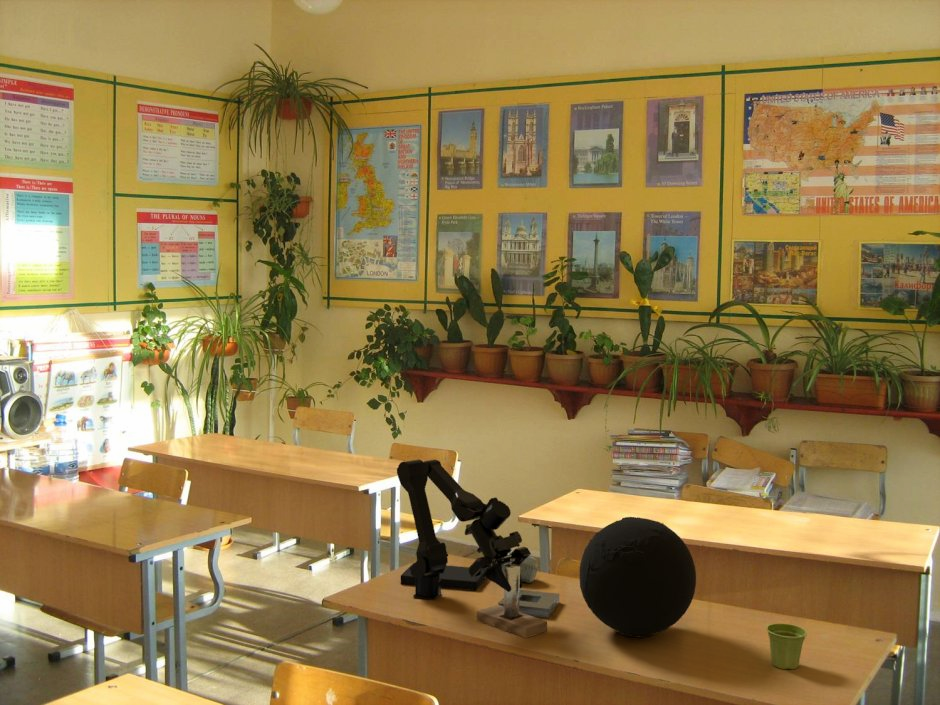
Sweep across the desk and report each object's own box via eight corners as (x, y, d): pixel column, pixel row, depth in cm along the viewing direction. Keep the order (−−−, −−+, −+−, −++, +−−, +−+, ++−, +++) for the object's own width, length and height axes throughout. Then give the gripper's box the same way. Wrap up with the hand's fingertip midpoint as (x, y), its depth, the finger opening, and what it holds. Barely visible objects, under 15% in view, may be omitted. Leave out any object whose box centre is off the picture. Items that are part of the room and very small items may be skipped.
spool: (484, 569, 310) (499, 539, 311) (496, 576, 317) (511, 547, 319) (520, 588, 302) (535, 558, 304) (532, 595, 310) (547, 565, 312)
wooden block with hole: (476, 620, 274) (476, 610, 274) (497, 613, 279) (497, 604, 279) (525, 637, 261) (526, 628, 261) (546, 630, 266) (547, 621, 266)
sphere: (697, 621, 276) (701, 511, 274) (690, 660, 247) (694, 538, 245) (588, 609, 284) (590, 502, 282) (569, 646, 255) (572, 527, 253)
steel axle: (501, 616, 269) (503, 567, 268) (505, 611, 272) (507, 563, 271) (516, 617, 267) (517, 568, 266) (520, 613, 271) (521, 564, 270)
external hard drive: (413, 572, 318) (413, 562, 318) (486, 578, 313) (486, 568, 313) (400, 585, 305) (400, 575, 304) (476, 591, 300) (476, 581, 299)
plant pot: (812, 665, 246) (813, 629, 245) (795, 676, 239) (796, 639, 238) (775, 654, 252) (776, 620, 251) (757, 665, 245) (759, 629, 244)
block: (498, 612, 280) (498, 603, 280) (511, 597, 294) (511, 588, 294) (548, 617, 276) (548, 608, 276) (559, 602, 290) (559, 593, 290)
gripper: (477, 528, 264) (507, 579, 257) (526, 517, 277) (556, 566, 270) (455, 551, 271) (484, 602, 264) (505, 539, 284) (533, 588, 277)
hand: (515, 589), depth 268 cm, fingers closed on steel axle, 4 cm apart
